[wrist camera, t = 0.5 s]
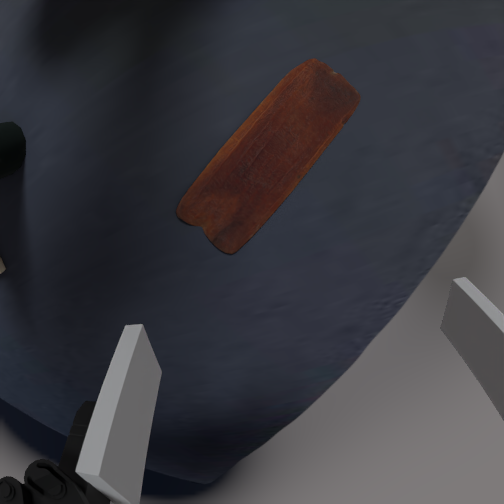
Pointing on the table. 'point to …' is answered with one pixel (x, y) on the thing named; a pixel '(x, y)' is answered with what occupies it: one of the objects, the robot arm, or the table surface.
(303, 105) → the wooden tablet
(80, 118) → the table surface
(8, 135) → the wine bottle
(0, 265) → the standoff plate
